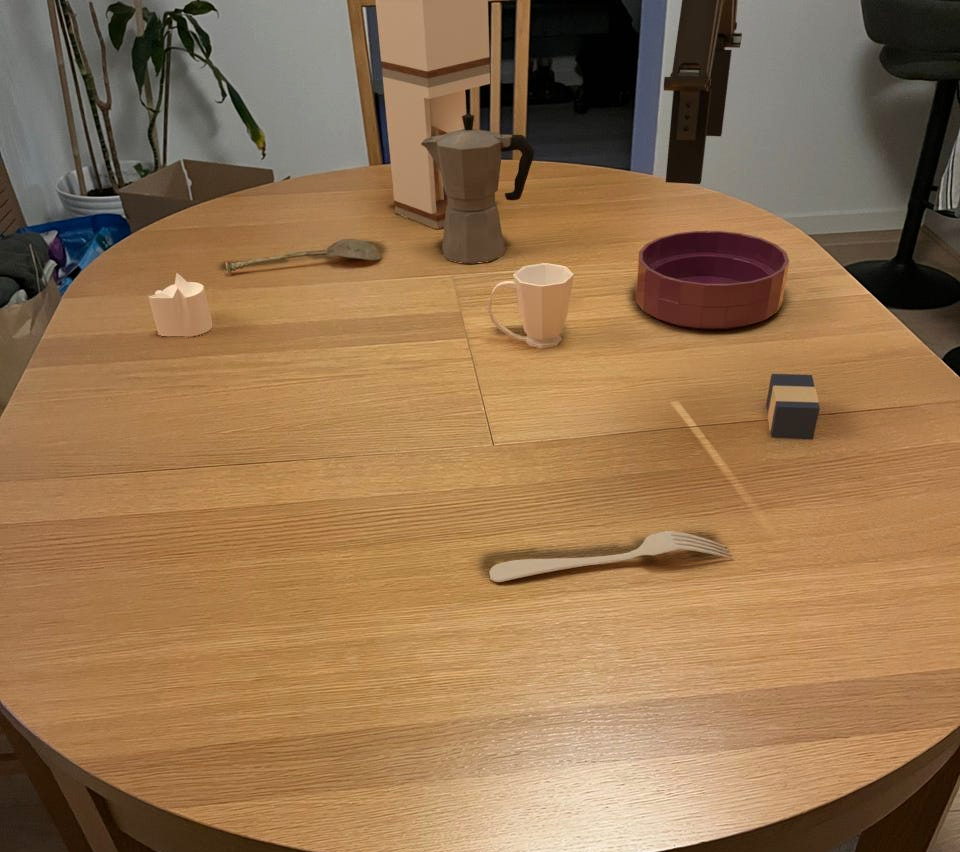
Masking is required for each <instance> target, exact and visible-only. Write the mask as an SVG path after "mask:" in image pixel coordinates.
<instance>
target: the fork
mask: <svg viewBox="0 0 960 852" xmlns="http://www.w3.org/2000/svg"><path fill="white" fill-rule="evenodd" d="M727 548H728V545H724V544H722V543H720V542H717V541H714V540H711V539H708V538H706V537H702V536H699V535H694V534H691V533H687V532H683V531H675V530H664V531H660V532H655V533H653V534H650V535H648V536H647V537H646V538H645V539H644V541H643V542H642V544H640V546H639V547H638V548H635V549H633V550H631V551H628V552H623V553H618V554H608V555H600V556H599V555H598V556H586V557H559V558H557V557H556V558H527V559H515V560H508V561H504V562H500V563H496V564H494V565H493V566H492V567H491V568H490V570H489V572H488V573H489V574H488V575H489V579H490V581H492V582H494V583H503V582H507V581H511V580H516V579H521V578H526V577H531V576H535V575H540V574H546V573H552V572H557V571H562V570H567V569H573V568H574V569H575V568H580V567H585V566H588V567H589V566H595V565H603V564H609V563H615V562H616V563H618V562H622V561H627V560H631V559H634V558H637V557H640V556H656V555H660V554H665V553H667V552H673V551H677V550H679V551H680V550H681V551H693V552H699V553H703V554H708V555H713V556H718V557H721V558H724V559H725V558H726V559H729V560H734V557H732V553H731V552H730V550H729V549H727Z"/></svg>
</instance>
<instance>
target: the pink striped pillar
mask: <svg viewBox="0 0 960 852" xmlns="http://www.w3.org/2000/svg"><path fill="white" fill-rule="evenodd" d="M375 10H376V19H377V20H376V21H377V30H378V31H377V32H378V41H379V42H378V43H379V51H380V52H379V53H380V62H381V63H380V64H381V74H382V85H383V96H384V105H385V106H384V107H385V119H386V124H387V125H386V127H387V128H386V129H387V138H388V149H389V150H388V151H389V159H390V171H391V180H392V190H393V201H394V213H398V214H400V215H403V216H406V217H408V218H411V219H414V220H416V221H419V222H422V223H424V224H427V225H430V226H432V227H435V228H441V227H444V225H445V215H446V207H447V206H448V202H447V194H446V193H445V190H444V186H443V180H442V175H441V171H440V170H439V168H438V166H437V165H436V163H435V161H434V160H433V158H432V156H431V155H430V153H429V152H428V150H427V149H426V148H425V147H424V146H422V145H421V143H422V142H423V141H424V140H425V139H426V138H430V137H434V136H440V135H445V134H447V133H449V132H453V131H458V130H462V129H464V124H463V119H462V116H464V115H466V114H467V97H466V91H467V90H470V89H475V88H479V87H482V86H485V85H486V86H487V85H490V84H491V67H490V66H491V64H490V63H491V61H490V31H489V30H490V26H489V0H375ZM400 215H399V216H400ZM408 218H407V219H408ZM416 221H415V222H416ZM424 224H423V225H424ZM432 227H431V228H432Z"/></svg>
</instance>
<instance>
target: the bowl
mask: <svg viewBox="0 0 960 852" xmlns="http://www.w3.org/2000/svg"><path fill="white" fill-rule="evenodd" d="M789 266H790V259H789V256H788V253H787V252H786V250H784V249H783V248H782V247H780V246H779V245H778V244H776V243H774V242H771V241H769V240H767V239H764V238H762V237H759V236H755V235H750V234H746V233H742V232H733V231H725V230H693V231H684V232H676V233H672V234H668V235H663V236H661V237H660V236H659V237H657V238H655V239H653V240H651V241H649V242H647V243H646V244H644V245H643V246H642V248H641V249H640V250H639V251H638V256H637V270H636V271H637V272H636V285H635V302H636V304H637V305H638V306H639V307H640V308H641V310H642V311H643V312H645V313H646V314H648V315H650V316H651V317H653V318H655V319H658V320H660V321H662V322H665V323H667V324H672V325H674V326H678V327H681V328H682V327H683V328H686V329H693V330H703V331H704V330H705V331H706V330H707V331H719V330H720V331H722V330H731V329H738V328H743V327H747V326H750V325H752V324H757V323H760V322H762V321H766V320H768V319H769V318H770V317H772V316H773V315H775V314H777V313H778V312H779V310H780V308H781V306H782V304H783V300H784V295H785V290H786V283H787V278H788V273H789Z"/></svg>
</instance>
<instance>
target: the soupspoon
mask: <svg viewBox="0 0 960 852" xmlns="http://www.w3.org/2000/svg"><path fill="white" fill-rule="evenodd" d="M311 256H312V257H313V256H332V257H340V258H341V257H342V258H350V259H359V260H365V261H380V260H381V259H382V258H383V256H382V254H381V253H380V251H379V250H378V249H377V248H375V246H373V245H372V244H370V243H368V242H366V241H364V240H361V239H356V238H344V239H341V240H337V241H335V242H333V243H332V244H330V245H329V246H328V247H327V248H326V249H318V250H307V251H306V250H305V251H297V252H291V253H285V254H280V255H274V256H268V257H266V256H265V257H262V258H257V259H256V258H255V259H252V260H247V259H244V261H237V262H230V264H229V263H228V262H227V261H226V262H225V267H226V270H227V272H228V274H229V275H230V274H231V275H232V271H233V272H236V270H239V269H243V268H244V267H249V266H250V265H254V264H255V265H256V264H260V263H268V262H273V261H280V260H287V259H293V258H301V257H311Z"/></svg>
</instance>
